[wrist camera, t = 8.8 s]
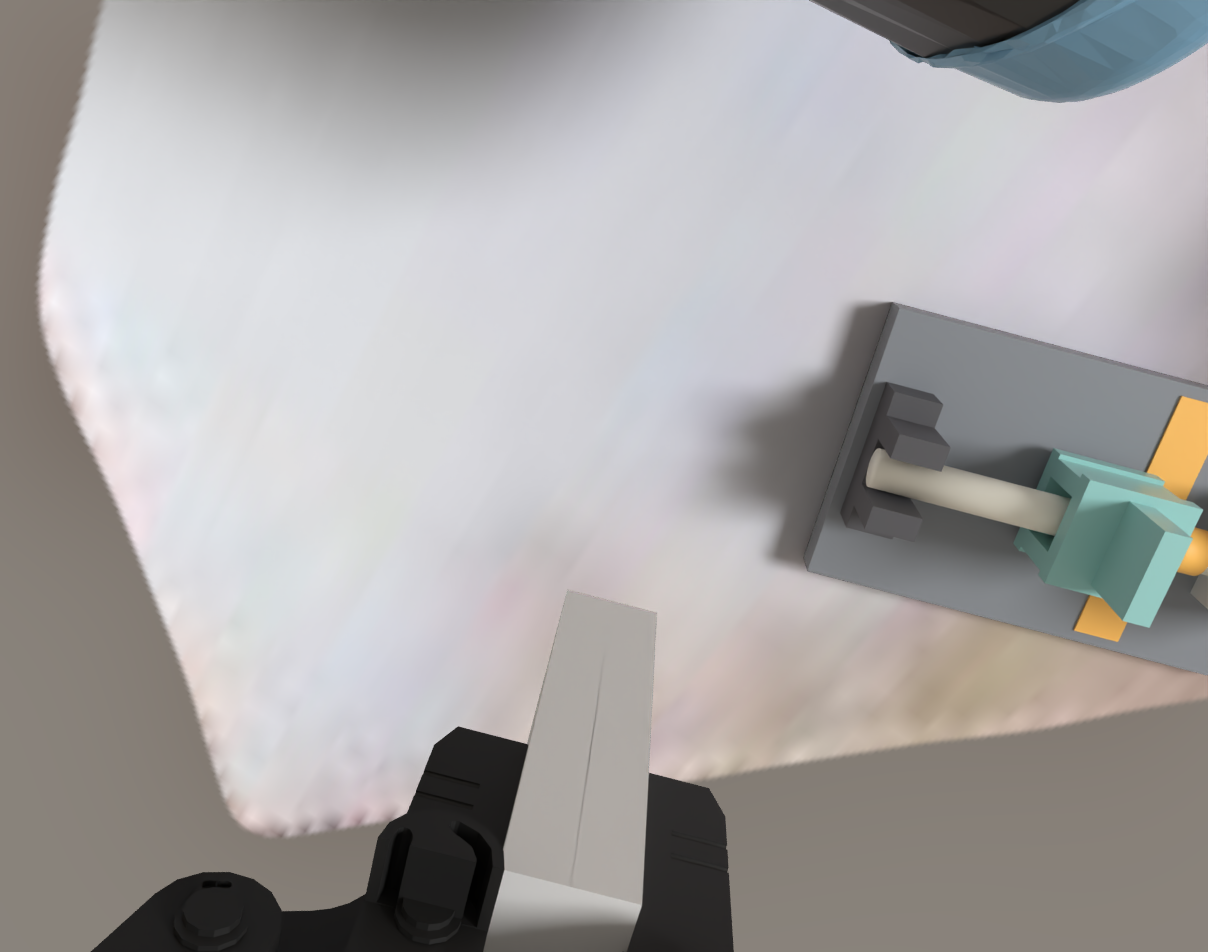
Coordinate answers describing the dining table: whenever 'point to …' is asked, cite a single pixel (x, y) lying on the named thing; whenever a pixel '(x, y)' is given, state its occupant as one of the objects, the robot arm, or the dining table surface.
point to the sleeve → (1112, 534)
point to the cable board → (1006, 478)
